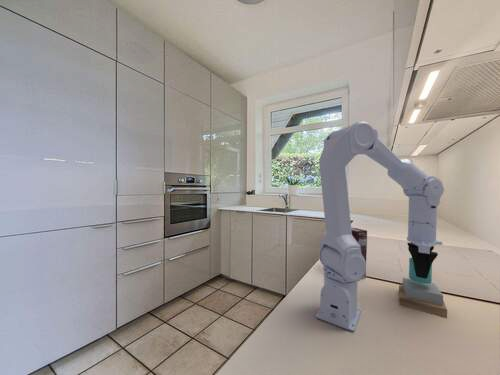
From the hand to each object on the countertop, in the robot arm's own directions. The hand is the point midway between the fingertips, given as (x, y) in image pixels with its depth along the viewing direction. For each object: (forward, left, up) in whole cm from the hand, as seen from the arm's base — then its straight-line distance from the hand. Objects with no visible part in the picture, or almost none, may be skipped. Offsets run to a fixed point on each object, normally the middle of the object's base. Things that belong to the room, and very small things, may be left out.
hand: (420, 274), depth 55 cm
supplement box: (+8, +18, -8) cm, 21 cm away
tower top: (0, 0, -6) cm, 6 cm away
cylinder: (0, 0, -2) cm, 2 cm away
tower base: (0, 0, -8) cm, 8 cm away
